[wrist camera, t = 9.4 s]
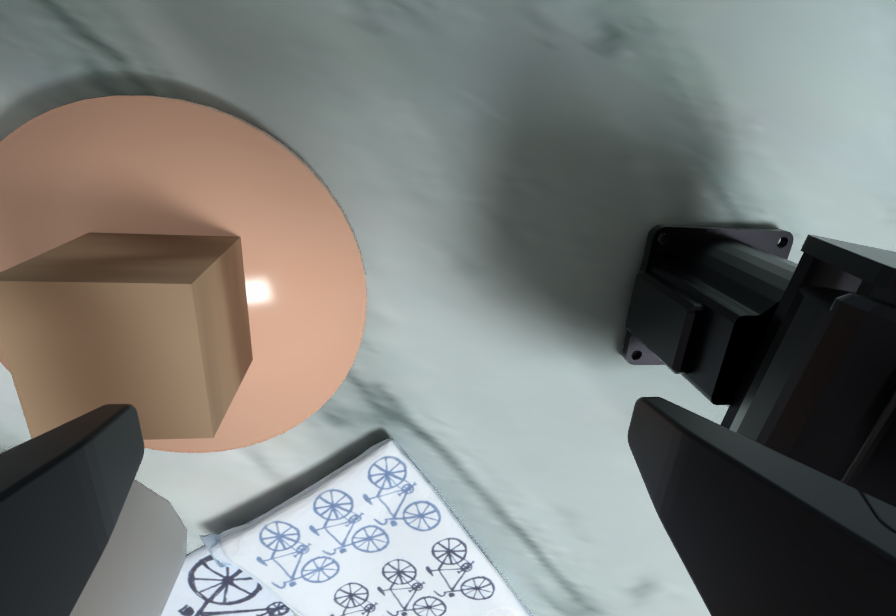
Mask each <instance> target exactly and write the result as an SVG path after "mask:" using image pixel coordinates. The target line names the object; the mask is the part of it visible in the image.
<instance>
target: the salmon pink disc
mask: <svg viewBox="0 0 896 616" xmlns="http://www.w3.org/2000/svg"><path fill="white" fill-rule="evenodd" d="M89 232H92V233H127V234H162V235H197V236H231V237H241V246H242V256H243V265H244V275H245V285H246V295H247V305H248V315H249V325H250V335H251V345H252V355H253V360H252V362H251V364H250V366H249V368H248V370H247V372H246V374H245V376H244V378H243V380H242V382H241V384H240V386H239V388H238V390H237V392H236V394H235V396H234V398H233V400H232V402H231V404H230V406H229V408H228V410H227V412H226V414H225V416H224V418H223V420H222V422H221V424H220V426H219V428H218V430H217V432H216V434H215V436H214V438H198V439H156V440H143V441H144V448H149V449H153V450H162V451H170V452H182V453H205V452H218V451H226V450H232V449H237V448H242V447H246V446H250V445H253V444H256V443H260V442H263V441H266V440H268V439H271V438H273V437H275V436H278V435H280V434H282V433H284V432H286V431H288V430H289V429H291V428H293V427H295V426H296V425H298V424H300V423H302V422H303V421H304V420H305V419H307V418H308V417H309V416H311V415H312V414H313V413H315V412H316V411H317V410H318V409H319V408H320V407H321V406H322V405H323V404H324V403H325V402H326V401H327V400H328V399H329V398H330V397H331V396H332V395H333V394H334V393H335V391H336V390H337V389H338V387H339V386H340V385H341V383H342V382H343V381H344V379H345V377H346V375H347V374H348V372H349V370H350V368H351V366H352V365H353V363H354V360H355V357H356V355H357V352H358V350H359V347H360V344H361V340H362V335H363V331H364V326H365V318H366V304H367V286H366V273H365V269H364V264H363V259H362V254H361V251H360V248H359V245H358V242H357V239H356V237H355V234H354V231H353V229H352V227H351V225H350V223H349V221H348V219H347V217H346V215H345V213H344V211H343V209H342V207H341V206H340V205H339V203H338V202H337V200H336V199H335V197H334V196H333V194H332V193H331V191H330V190H329V188H328V187H327V186H326V185H325V184H324V182H323V181H322V180H321V179H320V178H319V177H318V176H317V174H316V173H315V172H314V171H313V170H312V169H311V168H310V167H309V166H308V165H307V164H306V163H305V162H304V161H303V160H302V159H300V158H299V157H298V156H297V155H296V154H295V153H294V152H293V151H292V150H290V149H289V148H288V147H287V146H285V145H284V144H282V143H281V142H279V141H278V140H277V139H275V138H274V137H272V136H271V135H269V134H268V133H267V132H265V131H263V130H261V129H259V128H258V127H256V126H254V125H252V124H250V123H248V122H246V121H245V120H243V119H241V118H239V117H236V116H234V115H231V114H229V113H226V112H223V111H221V110H218V109H216V108H213V107H210V106H206V105H202V104H198V103H195V102H191V101H187V100H183V99H175V98H167V97H160V96H106V97H99V98H92V99H85V100H81V101H77V102H74V103H70V104H67V105H63V106H60V107H57V108H54V109H52V110H50V111H48V112H45V113H43V114H41V115H39V116H37V117H35V118H33V119H31V120H29V121H27V122H26V123H25V124H23V125H22V126H20V127H19V128H17V129H16V130H14V131H13V132H12V133H10V134H9V135H7V136H6V137H5V138H4V139H3V140H2V141H1V142H0V272H2V271H5V270H7V269H9V268H11V267H13V266H16V265H18V264H20V263H22V262H25V261H27V260H29V259H31V258H33V257H36V256H38V255H40V254H42V253H45V252H47V251H49V250H51V249H53V248H56V247H58V246H60V245H62V244H65V243H67V242H69V241H71V240H73V239H76V238H78V237H80V236H82V235H85V234H87V233H89ZM0 362H1V363H2V364H3V365H4V366H5V367H6V369H7V370H8V371H9V372H10V368H9V365H8V362H7V359H6V356H5V352H4V349H3V346H2V343H1V340H0ZM10 373H11V372H10Z"/></svg>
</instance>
